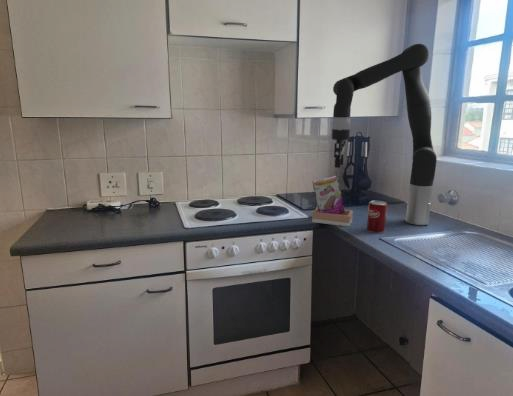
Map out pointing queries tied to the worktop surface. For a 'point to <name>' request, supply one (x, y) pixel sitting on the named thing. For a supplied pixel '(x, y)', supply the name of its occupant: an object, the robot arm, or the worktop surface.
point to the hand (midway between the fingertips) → (338, 166)
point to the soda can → (376, 216)
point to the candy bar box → (328, 195)
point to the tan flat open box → (332, 218)
